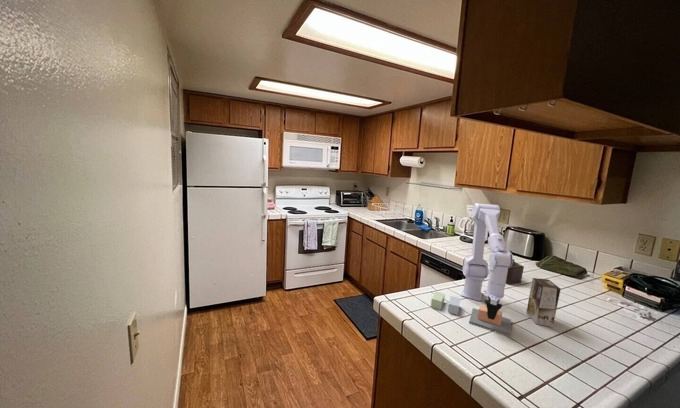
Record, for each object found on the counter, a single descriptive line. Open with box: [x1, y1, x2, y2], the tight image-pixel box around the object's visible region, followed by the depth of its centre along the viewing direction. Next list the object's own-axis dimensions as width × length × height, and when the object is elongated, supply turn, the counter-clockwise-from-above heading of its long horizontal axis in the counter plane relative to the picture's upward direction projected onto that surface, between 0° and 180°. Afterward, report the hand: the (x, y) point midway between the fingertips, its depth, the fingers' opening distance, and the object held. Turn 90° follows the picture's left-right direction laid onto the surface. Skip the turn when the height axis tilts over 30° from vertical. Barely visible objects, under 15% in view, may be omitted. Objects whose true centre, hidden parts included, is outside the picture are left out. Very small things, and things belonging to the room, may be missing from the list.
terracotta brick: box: [478, 305, 503, 326], centre depth 111 cm, size 8×4×4 cm, turn 59°
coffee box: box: [526, 277, 562, 328], centre depth 114 cm, size 9×6×16 cm
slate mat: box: [468, 307, 512, 337], centre depth 111 cm, size 12×14×1 cm
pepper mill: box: [505, 250, 525, 286], centre depth 155 cm, size 16×11×18 cm
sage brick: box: [430, 291, 446, 311], centre depth 122 cm, size 8×4×4 cm, turn 150°
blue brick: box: [447, 295, 461, 316], centre depth 119 cm, size 8×4×4 cm, turn 154°
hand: (491, 314), depth 111 cm, fingers open, 7 cm apart
